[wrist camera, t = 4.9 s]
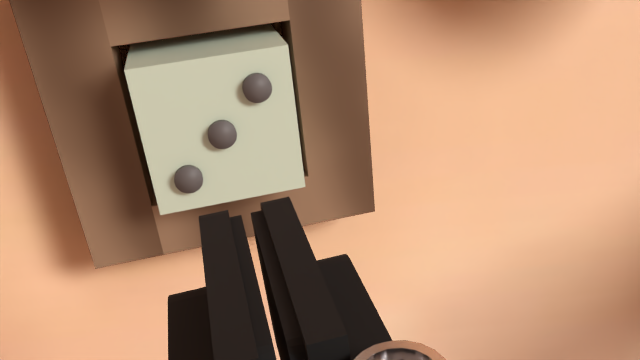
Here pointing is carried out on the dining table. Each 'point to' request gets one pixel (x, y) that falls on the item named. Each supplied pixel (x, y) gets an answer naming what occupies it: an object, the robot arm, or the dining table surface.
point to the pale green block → (216, 116)
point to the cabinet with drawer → (122, 129)
